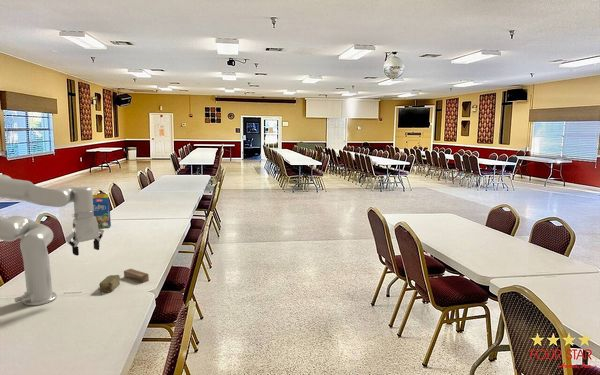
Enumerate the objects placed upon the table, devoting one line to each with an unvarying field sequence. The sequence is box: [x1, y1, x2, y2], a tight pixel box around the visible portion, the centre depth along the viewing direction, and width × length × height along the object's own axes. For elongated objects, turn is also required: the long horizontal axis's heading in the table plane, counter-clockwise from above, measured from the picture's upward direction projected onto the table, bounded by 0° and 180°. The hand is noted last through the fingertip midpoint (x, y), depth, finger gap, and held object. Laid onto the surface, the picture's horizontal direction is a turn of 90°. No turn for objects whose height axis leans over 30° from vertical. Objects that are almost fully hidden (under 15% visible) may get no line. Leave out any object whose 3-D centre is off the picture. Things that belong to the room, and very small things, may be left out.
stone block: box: [98, 274, 121, 294], centre depth 199 cm, size 6×12×5 cm, turn 3°
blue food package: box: [92, 193, 112, 229], centre depth 312 cm, size 6×12×25 cm, turn 104°
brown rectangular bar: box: [123, 268, 150, 284], centre depth 211 cm, size 4×14×4 cm, turn 57°
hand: (86, 252), depth 188 cm, fingers open, 9 cm apart
